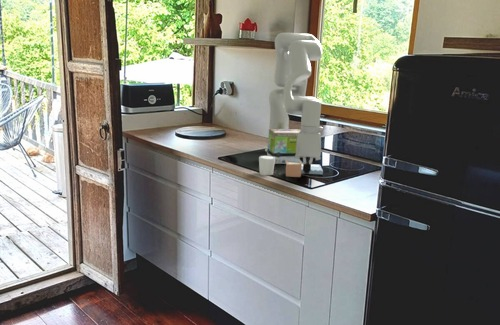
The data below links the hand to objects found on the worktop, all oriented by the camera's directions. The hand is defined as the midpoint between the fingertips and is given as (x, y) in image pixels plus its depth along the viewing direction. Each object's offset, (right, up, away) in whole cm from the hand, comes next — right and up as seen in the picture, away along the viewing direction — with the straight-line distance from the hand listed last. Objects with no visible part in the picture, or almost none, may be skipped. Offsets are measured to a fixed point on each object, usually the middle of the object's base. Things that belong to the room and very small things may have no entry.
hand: (306, 172), depth 192 cm
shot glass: (-17, 0, +1) cm, 17 cm away
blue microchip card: (0, +1, +8) cm, 9 cm away
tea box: (-7, +4, +22) cm, 24 cm away
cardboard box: (-6, -1, 0) cm, 6 cm away
